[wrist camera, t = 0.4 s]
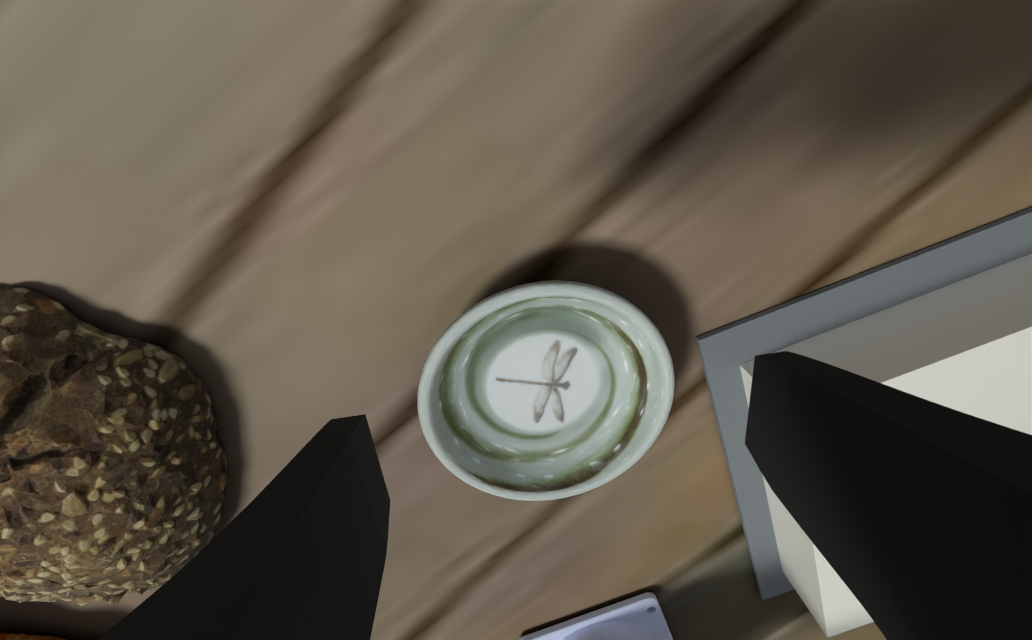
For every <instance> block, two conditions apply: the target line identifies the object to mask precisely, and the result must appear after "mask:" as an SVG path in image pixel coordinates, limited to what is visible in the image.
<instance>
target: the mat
mask: <svg viewBox="0 0 1032 640" xmlns="http://www.w3.org/2000/svg"><path fill="white" fill-rule="evenodd" d="M1029 254H1032V207H1031V208H1028V209H1025V210H1023V211H1020V212H1018V213H1015V214H1012V215H1010V216H1007V217H1005V218H1002V219H1000V220H997V221H994V222H992V223H989V224H987V225H984V226H982V227H979V228H976V229H974V230H971V231H969V232H966V233H963V234H961V235H958V236H956V237H953V238H951V239H948V240H945V241H943V242H940V243H938V244H935V245H933V246H930V247H927V248H925V249H922V250H920V251H917V252H914V253H912V254H909V255H907V256H904V257H902V258H899V259H896V260H894V261H891V262H889V263H886V264H884V265H881V266H878V267H876V268H873V269H871V270H868V271H865V272H863V273H860V274H858V275H855V276H853V277H850V278H847V279H845V280H842V281H840V282H837V283H835V284H832V285H829V286H827V287H824V288H822V289H819V290H816V291H814V292H811V293H809V294H806V295H804V296H801V297H798V298H796V299H793V300H791V301H788V302H786V303H783V304H780V305H778V306H775V307H773V308H770V309H767V310H765V311H762V312H760V313H757V314H755V315H752V316H749V317H747V318H744V319H742V320H739V321H737V322H734V323H731V324H729V325H726V326H724V327H721V328H718V329H716V330H713V331H711V332H708V333H706V334H703V335H700V336H698V337H696V340H697V344H698V348H699V352H700V356H701V360H702V364H703V368H704V372H705V376H706V380H707V385H708V389H709V393H710V397H711V401H712V405H713V409H714V413H715V417H716V421H717V425H718V429H719V433H720V437H721V441H722V445H723V449H724V453H725V457H726V461H727V465H728V469H729V473H730V477H731V481H732V485H733V489H734V493H735V497H736V501H737V505H738V509H739V513H740V517H741V521H742V525H743V529H744V533H745V537H746V541H747V545H748V549H749V553H750V557H751V561H752V565H753V569H754V573H755V577H756V582H757V586H758V590H759V594H760V596H761V598H762V600H765V599H768V598H771V597H774V596H777V595H780V594H782V593H785V592H788V591H791V590H794V587H793V586H792V584H791V583H790V582H789V580H788V579H787V577H786V576H785V574H784V573H783V571H782V566H781V562H780V557H779V552H778V547H777V542H776V538H775V533H774V528H773V523H772V518H771V513H770V509H769V504H768V499H767V494H766V489H765V485H764V480H763V475H762V473H761V471H760V470H759V468H758V466H757V464H756V463H755V461H754V459H753V457H752V456H751V454H750V452H749V450H748V448H747V447H746V445H745V437H746V428H747V419H748V411H749V408H748V403H747V398H746V393H745V389H744V384H743V379H742V374H741V369H740V365H741V364H744V363H746V362H749V361H752V360H754V359H755V356H756V355H763V354H769V353H772V352H775V351H778V350H780V349H783V348H786V347H788V346H791V345H793V344H796V343H799V342H801V341H804V340H807V339H809V338H812V337H814V336H817V335H820V334H822V333H825V332H827V331H830V330H833V329H835V328H838V327H841V326H843V325H846V324H848V323H851V322H854V321H856V320H859V319H862V318H864V317H867V316H869V315H872V314H875V313H877V312H880V311H882V310H885V309H888V308H890V307H893V306H896V305H898V304H901V303H903V302H906V301H909V300H911V299H914V298H916V297H919V296H922V295H924V294H927V293H930V292H932V291H935V290H937V289H940V288H943V287H945V286H948V285H951V284H953V283H956V282H958V281H961V280H964V279H966V278H969V277H971V276H974V275H977V274H979V273H982V272H985V271H987V270H990V269H992V268H995V267H998V266H1000V265H1003V264H1006V263H1008V262H1011V261H1013V260H1016V259H1019V258H1021V257H1024V256H1026V255H1029Z"/></svg>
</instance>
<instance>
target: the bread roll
mask: <svg viewBox="0 0 1032 640" xmlns="http://www.w3.org/2000/svg"><path fill="white" fill-rule="evenodd" d="M216 429H217V423H216V420H215V417H214V415H213V413H212V406H211V399H210V394H209V391H208V389H207V388H206V387H205V385H204V384H203V383H202V381H201V380H200V379H199V377H198V376H197V375H196V374H195V372H194V371H193V369H192V368H191V367H190V366H189V365H188V364H187V363H186V362H185V361H184V360H183V359H181V358H180V357H178V356H176V355H175V354H173V353H171V352H169V351H167V350H166V349H164V348H162V347H160V346H157V345H153V344H149V343H146V342H142V341H139V340H135V339H132V338H128V337H125V336H121V335H116V334H112V333H107V332H104V331H102V330H100V329H98V328H96V327H94V326H92V325H90V324H88V323H86V322H83V321H81V320H79V319H78V318H77V317H76V316H74V315H73V314H72V313H70V312H69V311H68V310H67V309H66V308H65V307H64V306H63V304H62V303H61V302H59V301H57V300H55V299H53V298H51V297H49V296H46V295H44V294H42V293H39V292H36V291H33V290H30V289H27V288H24V287H21V286H18V287H0V597H4V598H5V599H6V600H13V601H18V602H19V603H20V602H25V601H38V602H55V601H58V600H60V599H62V600H65V601H72V600H75V601H76V602H77V604H79V605H81V606H83V605H85V604H87V603H89V602H91V601H92V600H99V601H107V602H108V605H109V604H114V603H118V602H119V600H120V599H121V598H122V597H123V595H124V594H125V593H126V592H133V593H135V594H138V595H142V594H143V592H145V591H146V590H148V589H151V588H154V587H157V586H160V585H163V584H165V583H166V582H167V581H168V580H169V579H170V578H172V577H173V576H174V575H175V574H176V573H177V572H178V571H179V570H181V569H182V568H183V567H184V566H185V565H186V564H187V563H188V562H189V561H191V560H192V559H193V558H194V557H195V556H196V555H197V554H198V553H199V552H200V551H201V550H202V549H203V548H204V547H205V546H206V545H207V544H208V543H209V542H210V541H211V540H212V538H213V536H214V534H215V532H216V530H217V527H218V525H219V523H220V521H221V519H222V504H223V502H224V499H225V496H224V494H223V490H224V488H225V485H226V483H227V480H228V478H227V475H226V472H227V468H228V464H227V457H226V455H225V452H224V450H223V449H222V447H221V446H220V444H219V443H218V441H217V438H216V434H215V431H216Z"/></svg>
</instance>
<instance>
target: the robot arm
mask: <svg viewBox="0 0 1032 640" xmlns="http://www.w3.org/2000/svg"><path fill="white" fill-rule="evenodd" d="M745 445H746V447H747V448H748V450H749V452H750V454H751V456H752V457H753V459H754V461H755V463H756V464H757V466H758V468H759V470H760V471H761V473H762V474H763V476H764V478H765V479H766V481H767V483H768V484H769V486H770V487H771V489H772V491H773V492H774V493H775V495H776V496H777V497H778V499H779V500H780V501H781V503H782V504H783V505H784V507H785V508H786V509H787V510H788V512H789V513H790V514H791V516H792V517H793V518H794V520H795V521H796V522H797V523H798V525H799V526H800V527H801V529H802V530H803V531H804V532H805V534H806V535H807V536H808V537H809V539H810V540H811V541H812V543H813V544H814V545H815V546H816V548H817V549H818V550H819V551H820V553H821V554H822V555H823V556H824V558H825V559H826V560H827V562H828V563H829V564H830V565H831V567H832V568H833V569H834V570H835V572H836V573H837V574H838V575H839V577H840V578H841V579H842V581H843V582H844V583H845V584H846V586H847V587H848V588H849V589H850V591H851V592H852V593H853V594H854V596H855V597H856V598H857V600H858V601H859V602H860V603H861V605H862V606H863V607H864V609H865V610H866V611H867V613H868V614H869V616H870V617H871V618H872V620H873V621H874V622H875V624H876V625H877V626H878V628H879V629H880V631H881V632H882V633H883V635H884V636H885V638H886V639H887V640H1032V435H1030V434H1027V433H1024V432H1020V431H1017V430H1014V429H1011V428H1008V427H1005V426H1002V425H999V424H996V423H993V422H990V421H987V420H984V419H981V418H978V417H975V416H972V415H969V414H966V413H963V412H960V411H957V410H954V409H951V408H948V407H945V406H942V405H940V404H937V403H934V402H931V401H928V400H926V399H923V398H920V397H917V396H914V395H912V394H909V393H906V392H903V391H901V390H898V389H895V388H893V387H890V386H887V385H884V384H882V383H879V382H876V381H874V380H871V379H868V378H866V377H863V376H860V375H857V374H855V373H852V372H849V371H847V370H844V369H841V368H838V367H836V366H833V365H830V364H827V363H824V362H821V361H819V360H816V359H813V358H809V357H806V356H803V355H800V354H796V353H793V352H789V351H783V352H776V353H769V354H763V355H756V356H755V359H754V367H753V376H752V385H751V393H750V402H749V411H748V419H747V428H746V437H745ZM389 511H390V498H389V495H388V491H387V488H386V484H385V481H384V477H383V474H382V470H381V467H380V464H379V460H378V457H377V453H376V450H375V446H374V443H373V439H372V436H371V432H370V429H369V426H368V422H367V419H366V415H365V414H364V415H358V416H351V417H344V418H338V419H331V420H330V421H329V422H328V423H327V424H326V425H325V426H324V427H323V428H322V429H321V430H320V431H319V432H318V433H317V434H316V435H315V436H314V437H313V438H312V439H311V440H310V441H309V442H308V443H307V444H306V445H305V446H304V447H303V449H302V450H301V451H300V452H299V453H298V454H297V455H296V456H295V457H294V458H293V459H292V460H291V461H290V462H289V463H288V464H287V466H286V467H285V468H284V469H283V470H282V471H281V472H280V473H279V474H278V475H277V476H276V477H275V478H274V479H273V480H272V481H271V482H270V483H269V484H268V485H267V486H266V487H265V488H264V489H263V490H262V492H261V493H260V494H259V495H258V496H257V497H256V498H255V499H254V500H253V501H252V502H251V503H250V504H249V505H248V506H247V507H246V508H245V509H244V510H243V511H242V512H241V513H240V514H239V515H238V516H236V517H235V518H234V519H233V520H232V521H231V522H230V523H229V524H228V525H227V526H226V527H225V528H224V529H223V530H222V531H221V532H220V533H219V534H218V535H217V536H216V537H215V538H214V539H213V540H211V541H210V542H209V543H208V544H207V545H206V546H205V547H204V548H203V549H202V550H201V551H200V552H199V553H198V554H197V555H196V556H195V557H194V558H193V559H192V560H191V561H189V562H188V563H187V564H186V565H185V566H184V567H183V568H182V569H181V570H179V571H178V572H177V573H176V574H175V575H174V576H173V577H172V578H170V579H169V580H168V581H167V582H166V583H165V584H164V585H162V586H161V587H160V588H159V589H158V590H157V591H156V592H155V593H153V594H152V595H151V596H150V597H149V598H147V599H146V600H145V601H144V602H143V603H141V604H140V605H139V606H138V607H137V608H135V609H134V610H133V611H132V612H131V613H129V614H128V615H127V616H126V617H125V618H123V619H122V620H121V621H120V622H119V623H117V624H116V625H115V626H114V627H113V628H112V629H110V630H109V631H108V632H107V633H105V634H104V635H103V636H102V637H100V638H99V639H98V640H370V637H371V632H372V626H373V621H374V616H375V611H376V606H377V601H378V596H379V591H380V586H381V580H382V575H383V570H384V564H385V559H386V552H387V540H388V527H389ZM519 640H673V638H672V635H671V633H670V630H669V628H668V625H667V623H666V620H665V618H664V615H663V613H662V610H661V608H660V606H659V603H658V601H657V598H656V596H655V594H653V593H651V592H647V593H643V594H640V595H637V596H635V597H632V598H629V599H626V600H623V601H621V602H618V603H615V604H612V605H609V606H607V607H604V608H601V609H598V610H595V611H593V612H590V613H587V614H584V615H581V616H579V617H576V618H573V619H570V620H567V621H565V622H562V623H559V624H556V625H553V626H551V627H548V628H545V629H542V630H539V631H537V632H534V633H531V634H528V635H525V636H523V637H521V638H520V639H519Z"/></svg>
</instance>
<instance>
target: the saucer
mask: <svg viewBox="0 0 1032 640" xmlns="http://www.w3.org/2000/svg"><path fill="white" fill-rule="evenodd" d="M674 388H675V376H674V368H673V362H672V358H671V355H670V352H669V349H668V347H667V344H666V342H665V340H664V338H663V337H662V335H661V333H660V332H659V330H658V329H657V327H656V326H655V324H654V323H653V322H652V321H651V320H650V319H649V318H648V317H647V315H645V314H644V313H643V312H642V311H641V310H640V309H639V308H637V307H636V306H635V305H634V304H632V303H631V302H629V301H628V300H626V299H625V298H623V297H621V296H619V295H618V294H615V293H613V292H611V291H609V290H606V289H604V288H601V287H598V286H594V285H591V284H586V283H581V282H574V281H561V280H554V281H540V282H534V283H527V284H523V285H519V286H515V287H512V288H509V289H506V290H503V291H500V292H498V293H495V294H493V295H491V296H489V297H487V298H485V299H484V300H482V301H480V302H478V303H477V304H475V305H473V306H472V307H471V308H469V309H468V310H467V311H465V312H464V313H463V314H461V315H460V316H459V317H458V318H457V319H456V320H455V321H454V322H453V323H452V324H451V325H449V326H448V327H447V328H446V330H445V331H444V332H443V334H442V335H441V336H440V338H439V339H438V340H437V342H436V343H435V345H434V346H433V348H432V350H431V352H430V353H429V355H428V357H427V360H426V362H425V365H424V367H423V370H422V373H421V377H420V382H419V387H418V399H417V403H418V414H419V420H420V424H421V427H422V430H423V433H424V436H425V438H426V440H427V442H428V444H429V446H430V448H431V449H432V451H433V452H434V454H435V455H436V456H437V458H438V459H439V460H440V461H441V462H442V463H443V465H444V466H445V467H446V468H447V469H449V470H450V471H451V472H452V473H453V474H454V475H456V476H457V477H458V478H460V479H461V480H463V481H464V482H466V483H468V484H469V485H471V486H473V487H475V488H477V489H479V490H482V491H484V492H487V493H490V494H493V495H496V496H500V497H504V498H509V499H516V500H527V501H542V500H554V499H560V498H566V497H570V496H574V495H578V494H581V493H584V492H586V491H589V490H592V489H594V488H597V487H599V486H601V485H603V484H605V483H607V482H609V481H611V480H612V479H614V478H616V477H617V476H619V475H620V474H622V473H623V472H625V471H626V470H627V469H628V468H630V467H631V466H632V465H633V464H635V463H636V462H637V461H638V460H639V459H640V458H641V457H642V456H643V455H644V454H645V453H646V452H647V450H648V449H649V448H650V447H651V446H652V444H653V443H654V441H655V440H656V439H657V437H658V435H659V434H660V432H661V430H662V429H663V427H664V424H665V422H666V420H667V418H668V415H669V412H670V410H671V406H672V401H673V396H674Z"/></svg>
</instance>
